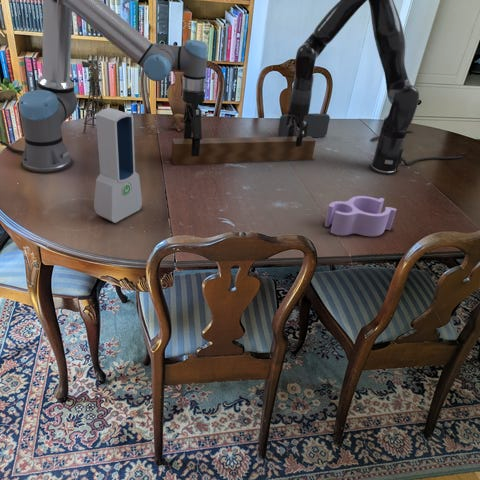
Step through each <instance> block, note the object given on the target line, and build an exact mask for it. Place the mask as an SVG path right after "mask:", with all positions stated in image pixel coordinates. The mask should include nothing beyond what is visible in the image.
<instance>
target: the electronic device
mask: <svg viewBox="0 0 480 480" xmlns="http://www.w3.org/2000/svg"><path fill="white" fill-rule="evenodd" d="M105 108H106V109H103V108H102V109H101V110H100V111H99V112H98V111H97V112H98V113H95V118H96V119H95V123H96V124H95V125H97V126H96V137H97V149H98V162H99V175H98V176H97V178H96V179H95V188H94V189H95V190H94V198H93V199H94V201H93V209H94V211H95V214H96V215H97V216H99V217H101V218H104V219H106V220H108V221H110V222H112V223H114V224H116V223H118V222H119V221H122V220H123V219H126V218H127V217H129V216H131V215H133V214H134V213H136V212H138V211H140V210H141V208H142V206H143V199H142V190H141V189H142V188H141V181H140V174H139V173H138V172H136V157H135V156H136V155H135V128H134V127H135V126H134V125H135V124H134V114H131V113H128V112H124V111H121V110H119V109H116V108H111V107H105Z"/></svg>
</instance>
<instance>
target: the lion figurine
mask: <svg viewBox="0 0 480 480" xmlns="http://www.w3.org/2000/svg"><path fill="white" fill-rule="evenodd" d="M200 110H201V118H202V117H203V113H202V112H203V111H202V109H200ZM183 117H184V114H181V113H175V114H174V115H173V116H172V118H171V120H170V124H169V126H168V127H167V129H168V130H170V129H175V128H176V131H177V132H181V129H180V128H179V126H180V123H182V124H184V120H183ZM174 125H175V127H174Z"/></svg>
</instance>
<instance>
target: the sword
mask: <svg viewBox="0 0 480 480" xmlns="http://www.w3.org/2000/svg"><path fill="white" fill-rule="evenodd" d="M410 132H411V131H407V132H406V133H410ZM378 139H379V135H378V136H375V137H372V138H371V142H374V141H376V140H378Z"/></svg>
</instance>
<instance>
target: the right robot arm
mask: <svg viewBox="0 0 480 480" xmlns="http://www.w3.org/2000/svg"><path fill="white" fill-rule="evenodd" d="M367 1H368V4H369V11H370V19H371V26H372V32H373V38H374V42H375V47H376V50H377V53H378V57H379V60H380V64H381V66H382V69H383V73H384V78H385V79H384V80H385V86H386V96H387V99H388V102H389V104H391V105H390V108H389V112H388V115H386V116H385V117H384V118H383V120H382V125H381V128H380V131H379V135H378V136H379V139H377V143H376V147H375V151H374V155H373V158H372V162H371V165H370V168H371V169H372V170H373V171H374V172H376V173H379V174H384V175H393V174H395V173H396V172H397V171H398V168H399V165H402V162H403V164H404V165H405V166H410V165H413V164H414V163H416V162H420V161H427V160H457V159H461V158H462V157H463V156H467V154H466V152H462V153H463V154H464V153H465V154H464V155H463V156H461V155H462V154H461V155H457V156H430V157H422V158H417V159H414V160H412V161H410V162H407V161H406V160H405V159H404V157H403V156H402V155H403V151H404V147H403V146H404V142H405V139H406V135H407V133H408V132H407V130H409V126H410V125H411V123H412V121H413V120H414V116H415V114H416V110H417V109H418V105H419V100H420V92H419V90H418V88H417V87H416V86H414V85H413V84H412V83H411V81H410V79H409V76H408V73H407V69H406V65H405V64H406V62H405V58H406V38H405V33H404V29H403V28H404V27H403V25H402V21H401V17H400V15H399V12H398V9H397V6H396V4H395V2H394V0H339V1H338V2H337V3H335V5H334V6H333V7H332V8H331V9H330V10H328V12H327V13H326V14H325V15H324V17H323V18H322V19H321V20H320V22H319V23H318V24H317V26H316V27H315V28H314V30H313V32H312V33H311V34H310V35H309V36H308V38H307V39H306V40H305V41H304V42H303V43H302V44H301V45H300V46H299V47H298V49H297V51H296V54H295V63H294V64H295V65H294V77H293V84H292V89H291V93H290V98H289V99H290V100H289V106H288V111H287V114H288V116H287V122H286V125H288V128H289V129H288V135H287V137H293V134H294V129H293V128H295V131H296V132H297V138H296V146H297V147H300V146H301V145H302V139H303V137H306V135H307V127H308V121H304V117H305V116H306V115H308V114H310V109H311V103H312V102H311V101H312V95H313V93H312V92H313V86H314V78H315V74H314V70H315V64H316V60H317V59H318V57H319V56H320V55H321V54H322V52H323V51H324V50H325V48H326V47H327V46H328V45H329V44H330V43H331V42H332V41H333V40H334V39H335V38H336V36H337V35H338V34H340V32H341V30H342V29H343V28H344V27H345V26H346V25H347V23H348V22H349V21H350V20H351V18H352V17H353V16H354V15H355V14H356V13H357V11H358V10H359V9H361V7H362V6H363V5H364V4H365V3H366V2H367ZM289 120H290V121H289ZM298 128H300V129H298ZM299 131H300V132H299Z"/></svg>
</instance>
